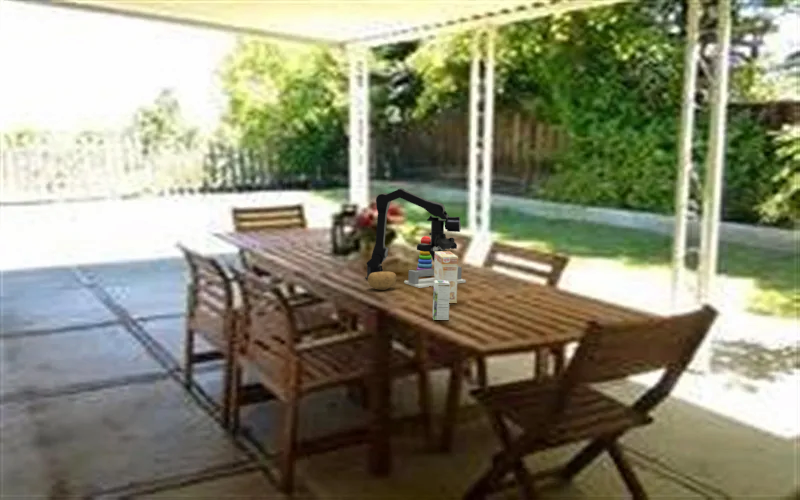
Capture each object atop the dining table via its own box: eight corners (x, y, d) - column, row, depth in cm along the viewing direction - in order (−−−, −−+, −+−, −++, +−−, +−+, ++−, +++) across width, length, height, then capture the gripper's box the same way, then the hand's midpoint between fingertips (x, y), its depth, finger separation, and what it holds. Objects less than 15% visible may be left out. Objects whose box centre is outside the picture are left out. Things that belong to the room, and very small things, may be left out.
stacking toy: (431, 277, 420) (432, 237, 417) (414, 276, 421) (415, 236, 418) (434, 274, 427) (435, 235, 424) (417, 273, 429) (418, 234, 426)
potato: (401, 289, 391) (402, 271, 389) (375, 293, 382) (375, 274, 381) (388, 285, 398) (389, 268, 397) (362, 289, 390) (362, 271, 389)
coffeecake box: (457, 304, 364) (458, 256, 361) (440, 304, 363) (441, 257, 360) (449, 296, 379) (450, 250, 376) (432, 296, 378) (434, 251, 374)
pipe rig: (419, 287, 395) (419, 272, 394) (404, 283, 405) (404, 268, 404) (465, 282, 409) (466, 268, 408) (450, 277, 419) (450, 263, 418)
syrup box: (432, 317, 341) (433, 279, 338) (447, 317, 341) (448, 279, 339) (433, 321, 335) (434, 282, 333) (449, 320, 335) (450, 282, 333)
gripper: (430, 234, 392) (429, 269, 394) (464, 232, 402) (463, 266, 404) (416, 231, 401) (415, 265, 403) (450, 228, 411) (449, 262, 414)
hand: (436, 265), depth 406 cm, fingers closed
